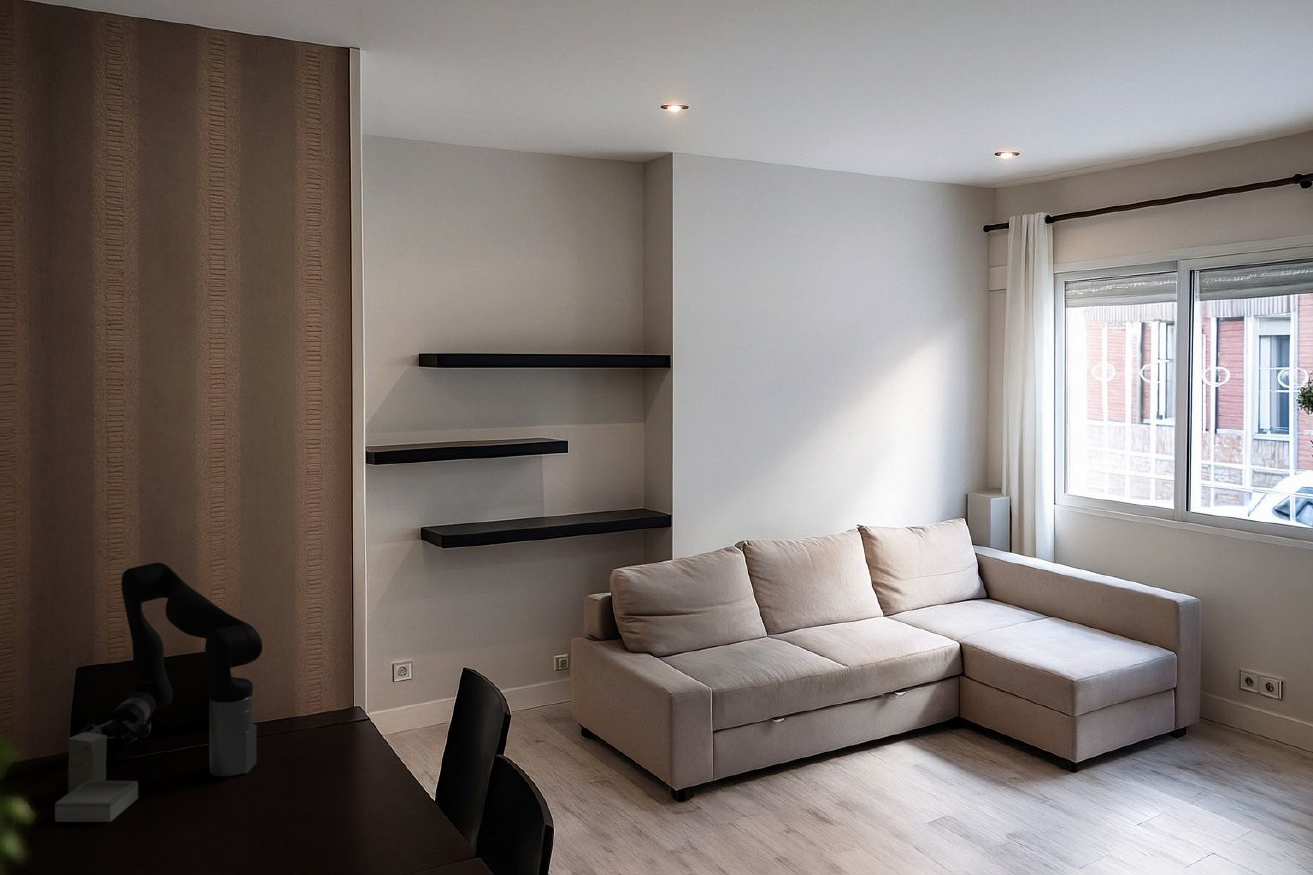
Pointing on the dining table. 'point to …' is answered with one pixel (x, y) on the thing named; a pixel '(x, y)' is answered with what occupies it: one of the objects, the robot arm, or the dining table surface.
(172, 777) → the dining table surface
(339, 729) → the dining table surface
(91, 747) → the skincare box
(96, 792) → the shallow open tray
